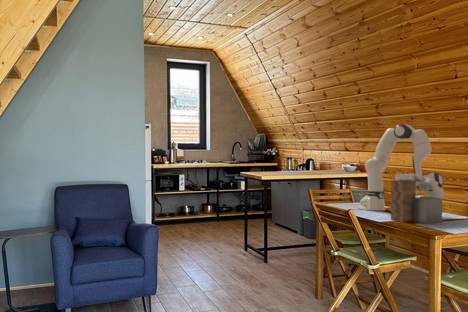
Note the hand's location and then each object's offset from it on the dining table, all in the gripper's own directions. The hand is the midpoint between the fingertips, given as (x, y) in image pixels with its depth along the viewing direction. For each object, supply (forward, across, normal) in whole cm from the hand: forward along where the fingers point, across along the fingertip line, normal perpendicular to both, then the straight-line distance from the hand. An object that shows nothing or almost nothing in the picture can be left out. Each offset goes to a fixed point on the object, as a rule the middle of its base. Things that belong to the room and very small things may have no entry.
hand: (413, 175), depth 289 cm
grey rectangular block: (+2, 0, +4) cm, 5 cm away
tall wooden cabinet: (-7, 0, +29) cm, 30 cm away
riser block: (-14, +12, +24) cm, 31 cm away
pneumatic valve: (-45, -25, +7) cm, 52 cm away
